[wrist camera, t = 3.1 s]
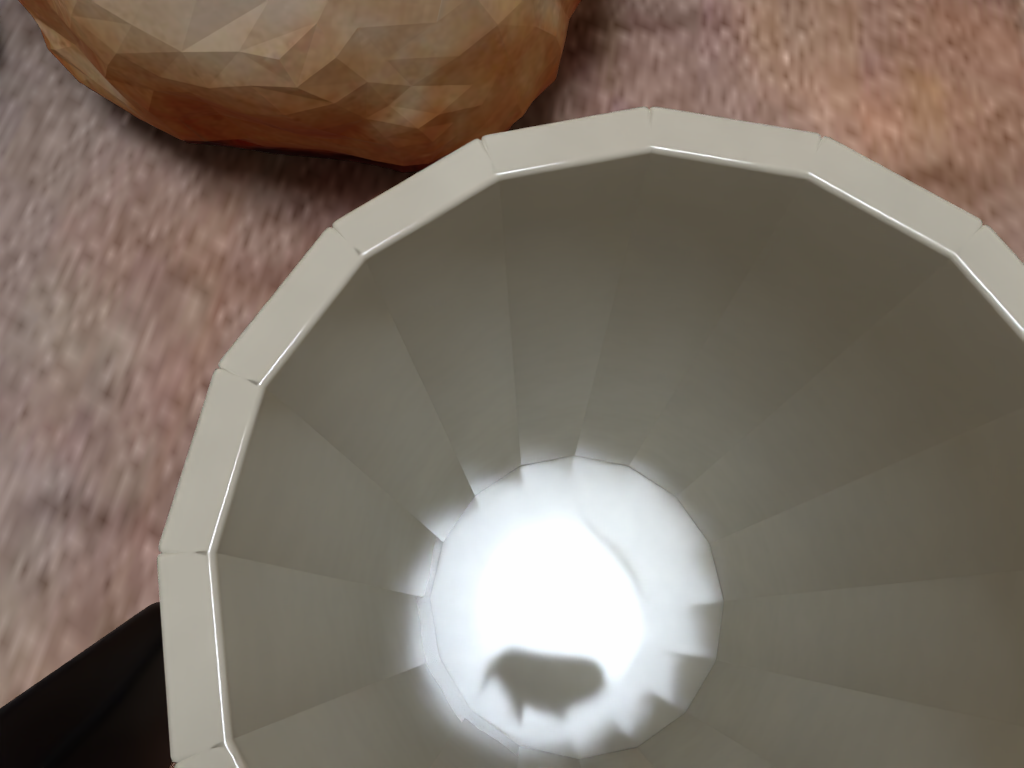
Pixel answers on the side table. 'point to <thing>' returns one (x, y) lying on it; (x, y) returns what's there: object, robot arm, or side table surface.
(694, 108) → the side table surface
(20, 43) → the side table surface
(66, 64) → the ceramic vessel
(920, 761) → the tumbler
